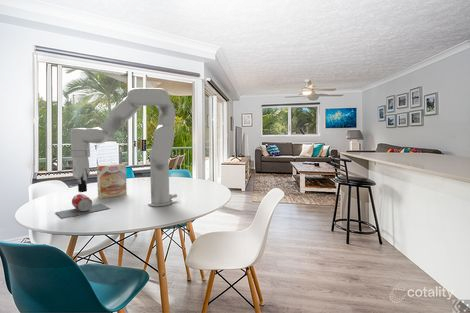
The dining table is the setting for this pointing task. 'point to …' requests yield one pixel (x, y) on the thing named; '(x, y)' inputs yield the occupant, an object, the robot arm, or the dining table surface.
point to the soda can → (81, 202)
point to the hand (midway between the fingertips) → (82, 191)
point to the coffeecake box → (111, 180)
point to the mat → (76, 212)
